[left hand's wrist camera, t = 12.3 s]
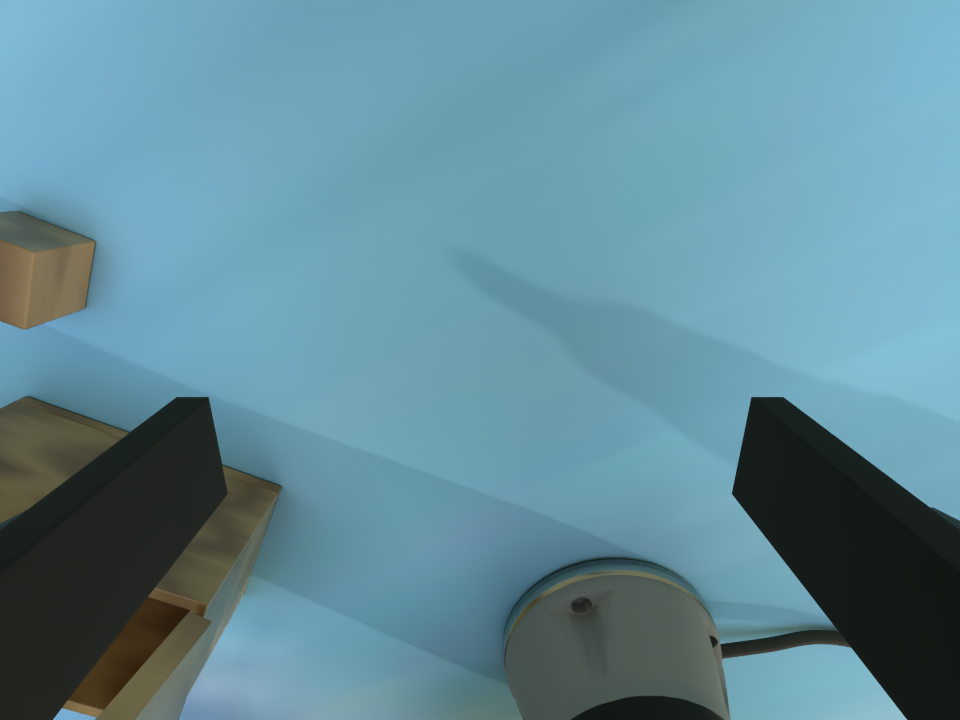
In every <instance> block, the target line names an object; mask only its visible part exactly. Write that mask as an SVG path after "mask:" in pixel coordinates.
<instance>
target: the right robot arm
mask: <svg viewBox="0 0 960 720" xmlns="http://www.w3.org/2000/svg"><path fill="white" fill-rule="evenodd" d="M811 644H831V645H840V646H846V647H851V646H850V645H849V644H848V643H847V641H846V640H845V639H844V637H843V636H842V635H841V634H840V632H837V631H828V630H808V631H800V632H794V633H789V634H784V635H779V636H774V637H769V638H762V639H755V640H748V641H741V642H733V643H726V644H720V641H719V637H718V634H717V630H716V627H715V624H714V622H713V620H712V618H711V616H710V614H709V612H708V610H707V608H706V606H705V604H704V602H703V601H702V599H701V598H700V596H699V595H698V593H697V592H696V591H695V590H694V589H693V588H692V587H691V586H690V585H689V584H688V583H687V582H686V581H685V580H683V579H682V578H681V577H679V576H677V575H676V574H674V573H672V572H670V571H668V570H666V569H664V568H662V567H659V566H656V565H653V564H649V563H646V562H641V561H635V560H626V559H606V560H597V561H590V562H586V563H581V564H578V565H574V566H571V567H568V568H566V569H563V570H561V571H559V572H556V573H554V574H552V575H550V576H549V577H547V578H545V579H544V580H542V581H541V582H539V583H538V584H537V585H535V586H534V587H533V588H532V589H531V590H529V591H528V592H527V593H526V594H525V595H524V596H523V597H522V599H521V600H520V601H519V602H518V604H517V605H516V606H515V608H514V610H513V611H512V613H511V615H510V617H509V619H508V622H507V625H506V628H505V633H504V662H505V671H506V675H507V678H508V683H509V686H510V689H511V692H512V694H513V696H514V698H515V699H516V702H517V705H518V707H519V710H520V713H521V715H522V718H523V720H730V713H729V705H728V698H727V690H726V683H725V677H724V672H723V667H722V659H723V658H730V657H738V656H745V655H752V654H760V653H767V652H773V651H778V650H783V649H788V648H793V647H797V646H803V645H811Z"/></svg>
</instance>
